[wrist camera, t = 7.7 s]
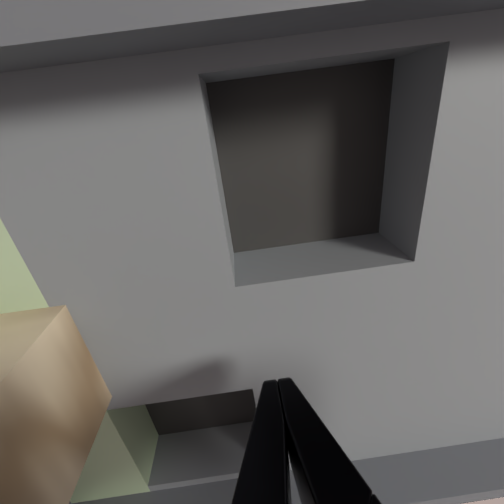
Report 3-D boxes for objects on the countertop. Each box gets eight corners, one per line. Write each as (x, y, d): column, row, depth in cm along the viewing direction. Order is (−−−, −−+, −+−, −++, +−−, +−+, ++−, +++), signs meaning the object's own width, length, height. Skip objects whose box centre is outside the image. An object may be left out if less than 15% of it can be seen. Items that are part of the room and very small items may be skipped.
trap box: (490, 391, 18) (578, 485, 13) (87, 451, 17) (39, 569, 13) (653, -23, 9) (1076, -155, 4) (-158, 81, 9) (-577, 48, 4)
